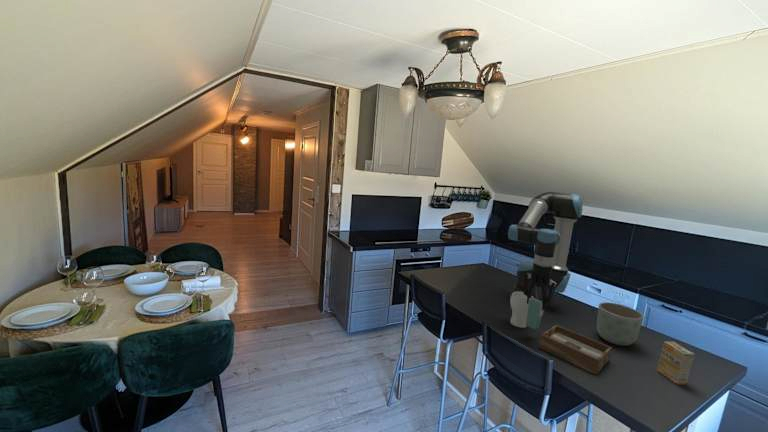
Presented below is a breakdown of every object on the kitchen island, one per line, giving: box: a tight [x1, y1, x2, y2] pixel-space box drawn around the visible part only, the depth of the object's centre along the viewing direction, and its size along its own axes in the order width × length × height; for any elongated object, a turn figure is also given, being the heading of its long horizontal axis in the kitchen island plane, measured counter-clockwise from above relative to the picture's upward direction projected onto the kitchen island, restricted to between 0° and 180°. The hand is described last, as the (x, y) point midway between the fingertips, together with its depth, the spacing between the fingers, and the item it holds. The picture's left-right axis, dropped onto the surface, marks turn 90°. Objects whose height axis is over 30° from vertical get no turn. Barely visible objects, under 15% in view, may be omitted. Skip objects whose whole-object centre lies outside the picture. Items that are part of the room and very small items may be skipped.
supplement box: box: [656, 341, 695, 385], centre depth 125 cm, size 8×5×13 cm, turn 5°
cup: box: [509, 292, 534, 329], centre depth 160 cm, size 11×11×15 cm
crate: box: [538, 324, 613, 375], centre depth 138 cm, size 16×22×6 cm
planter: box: [596, 301, 645, 347], centre depth 151 cm, size 17×17×15 cm
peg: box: [526, 298, 542, 330], centre depth 147 cm, size 4×4×12 cm
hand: (534, 313), depth 147 cm, fingers closed on peg, 4 cm apart
